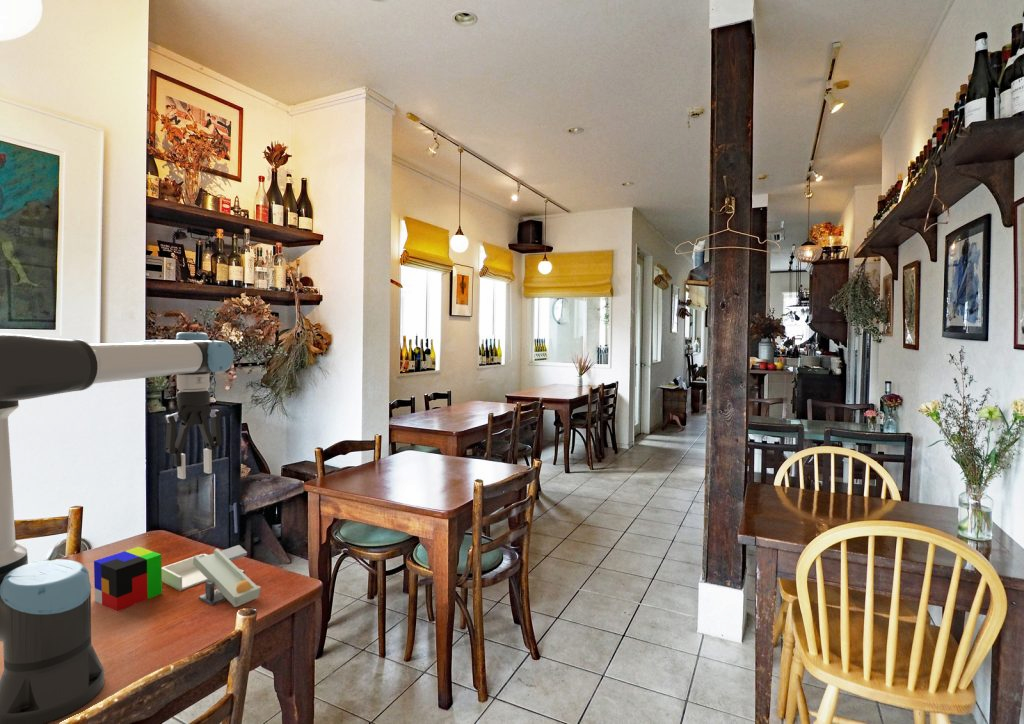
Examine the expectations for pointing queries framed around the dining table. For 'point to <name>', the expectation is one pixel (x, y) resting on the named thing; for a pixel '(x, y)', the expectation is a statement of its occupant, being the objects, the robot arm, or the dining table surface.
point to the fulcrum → (213, 594)
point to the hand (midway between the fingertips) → (194, 475)
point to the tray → (183, 574)
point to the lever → (227, 574)
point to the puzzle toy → (127, 578)
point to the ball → (243, 586)
